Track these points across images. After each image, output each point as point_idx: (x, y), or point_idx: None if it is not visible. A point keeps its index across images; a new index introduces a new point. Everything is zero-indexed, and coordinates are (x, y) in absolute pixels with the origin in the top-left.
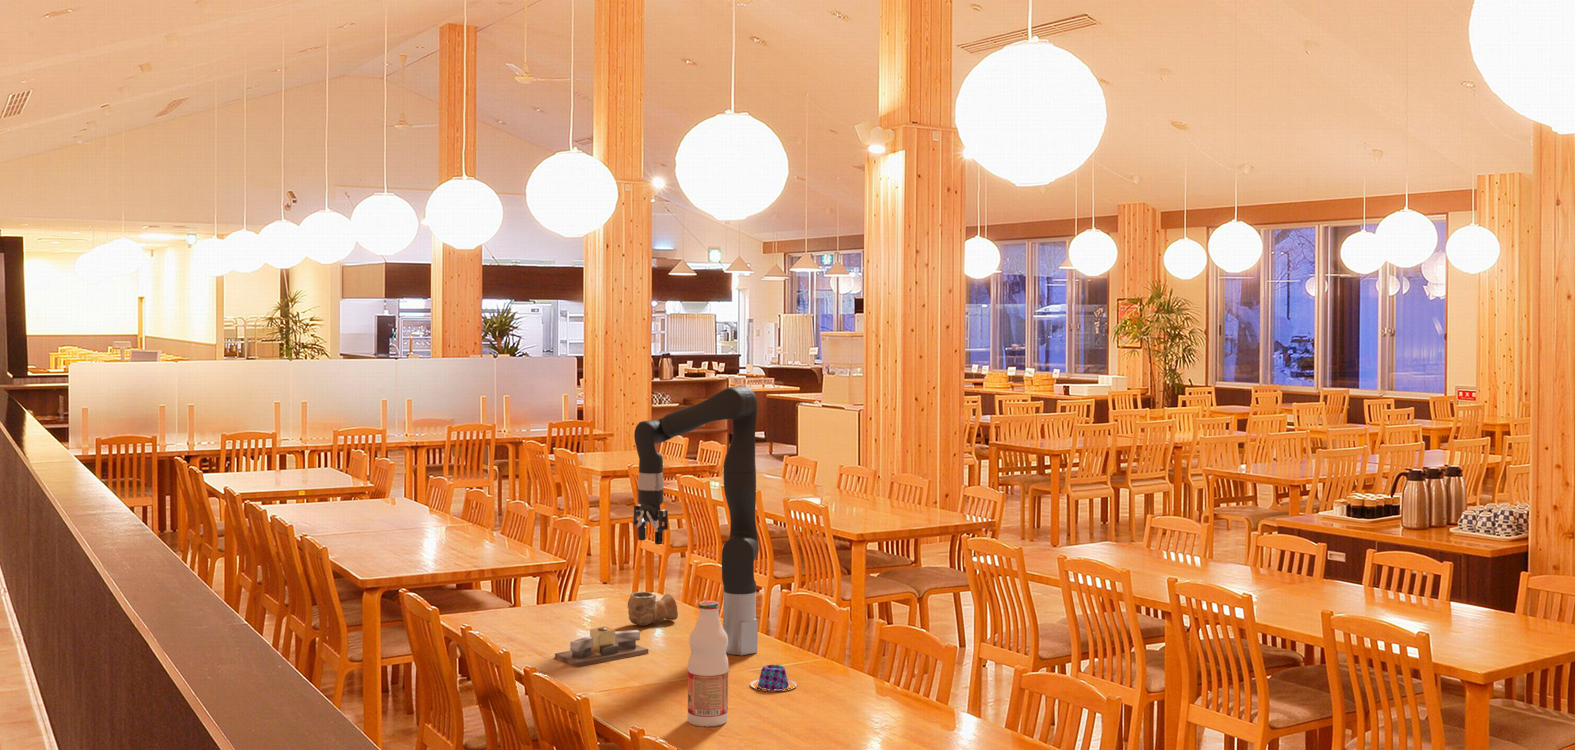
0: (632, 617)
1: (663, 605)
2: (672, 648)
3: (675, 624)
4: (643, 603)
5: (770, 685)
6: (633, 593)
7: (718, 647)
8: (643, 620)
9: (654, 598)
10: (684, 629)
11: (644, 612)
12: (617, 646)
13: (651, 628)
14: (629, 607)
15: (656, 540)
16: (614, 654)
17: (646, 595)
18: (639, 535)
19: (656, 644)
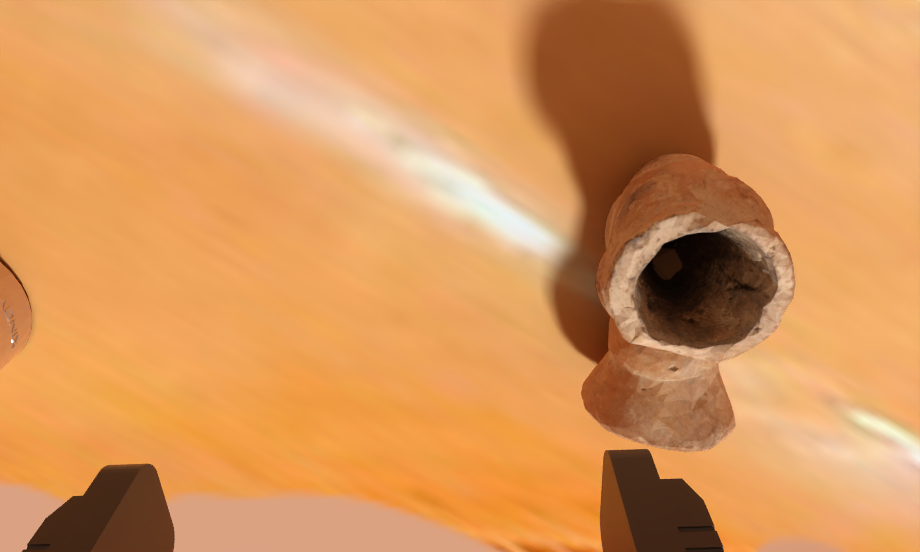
0: (663, 161)
1: (626, 361)
2: (135, 76)
3: (565, 349)
4: (621, 233)
5: None
6: (764, 253)
7: None
8: (613, 203)
9: (613, 317)
10: (455, 330)
11: (614, 222)
12: None
13: (573, 219)
14: (709, 174)
15: (78, 510)
16: None
17: (729, 328)
18: (628, 505)
19: (255, 52)
